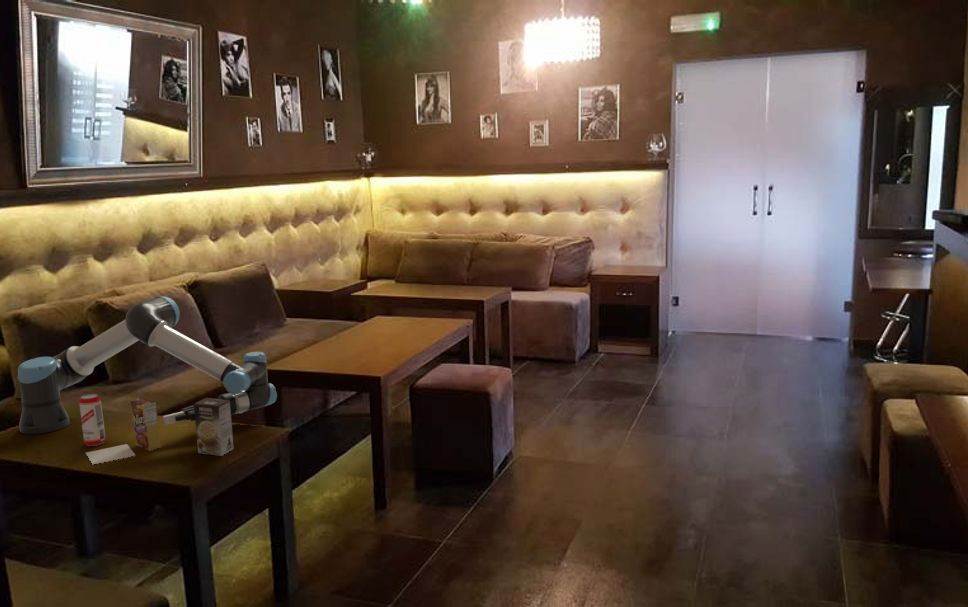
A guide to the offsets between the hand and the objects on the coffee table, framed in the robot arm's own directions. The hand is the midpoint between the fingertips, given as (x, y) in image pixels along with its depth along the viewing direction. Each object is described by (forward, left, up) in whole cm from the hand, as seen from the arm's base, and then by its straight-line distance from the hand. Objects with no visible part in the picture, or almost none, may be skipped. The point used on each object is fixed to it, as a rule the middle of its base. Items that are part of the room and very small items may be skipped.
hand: (164, 420), depth 253 cm
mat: (+1, -17, -7) cm, 18 cm away
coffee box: (+19, +10, -8) cm, 23 cm away
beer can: (-13, -19, -8) cm, 24 cm away
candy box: (+1, -6, -8) cm, 9 cm away
